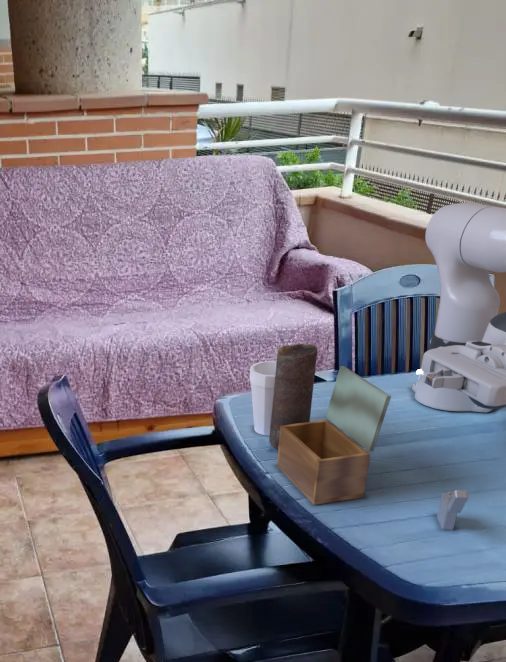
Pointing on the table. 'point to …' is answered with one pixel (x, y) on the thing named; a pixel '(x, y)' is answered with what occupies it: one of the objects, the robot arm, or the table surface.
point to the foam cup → (262, 394)
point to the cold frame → (322, 461)
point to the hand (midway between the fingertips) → (428, 381)
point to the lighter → (451, 508)
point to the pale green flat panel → (357, 407)
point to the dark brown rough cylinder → (292, 387)
